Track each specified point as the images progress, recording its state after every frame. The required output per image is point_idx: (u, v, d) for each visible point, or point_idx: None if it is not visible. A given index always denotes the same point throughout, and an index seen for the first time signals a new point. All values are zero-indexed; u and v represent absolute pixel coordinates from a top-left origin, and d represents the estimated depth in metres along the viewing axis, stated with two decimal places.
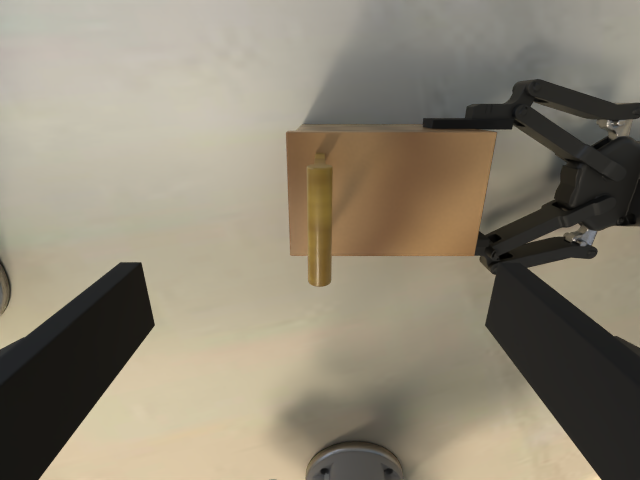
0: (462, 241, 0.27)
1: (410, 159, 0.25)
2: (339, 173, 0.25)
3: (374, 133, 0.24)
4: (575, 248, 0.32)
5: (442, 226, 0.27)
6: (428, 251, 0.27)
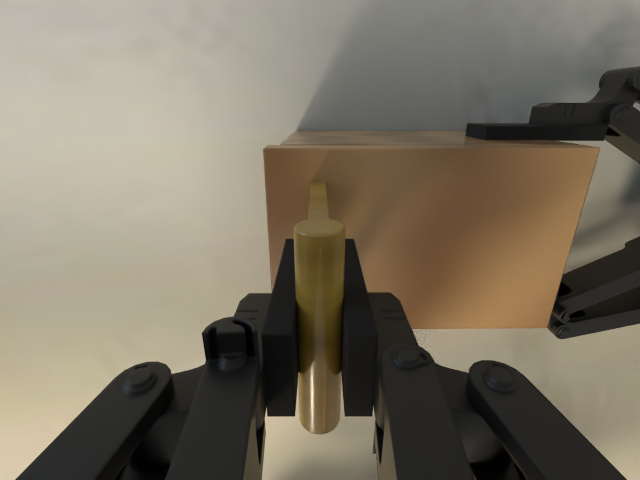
0: (531, 308, 0.18)
1: (460, 190, 0.16)
2: (349, 212, 0.16)
3: (405, 150, 0.15)
4: None
5: (502, 288, 0.18)
6: (479, 323, 0.18)
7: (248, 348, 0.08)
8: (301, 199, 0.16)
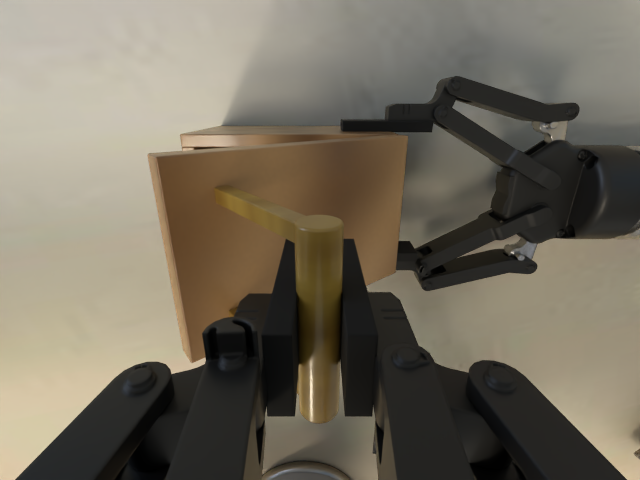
0: (386, 261, 0.24)
1: (336, 177, 0.19)
2: None
3: (295, 147, 0.16)
4: (512, 262, 0.29)
5: (369, 251, 0.22)
6: None
7: (248, 348, 0.08)
8: (206, 209, 0.14)
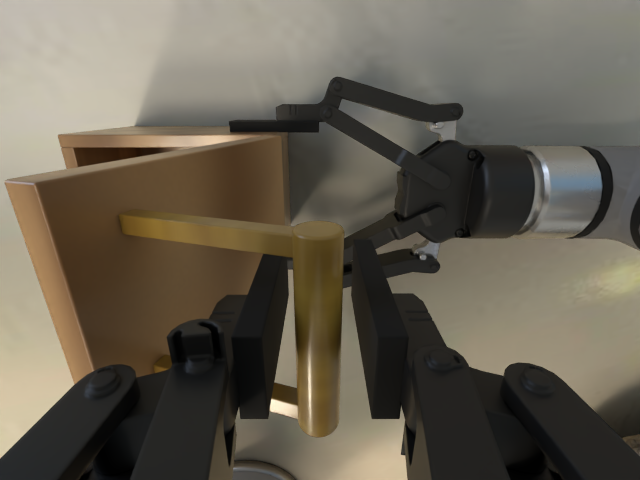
0: None
1: (234, 184, 0.17)
2: None
3: (195, 154, 0.14)
4: (415, 262, 0.29)
5: None
6: None
7: (215, 350, 0.08)
8: (112, 244, 0.11)
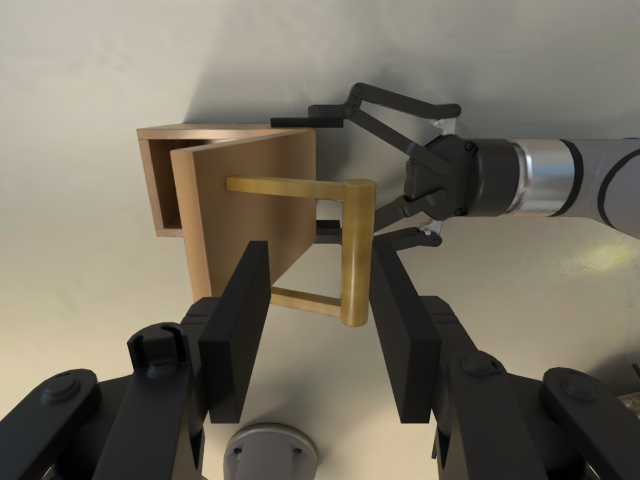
0: (311, 231, 0.29)
1: (285, 164, 0.23)
2: (246, 198, 0.19)
3: (264, 140, 0.20)
4: (421, 237, 0.34)
5: (303, 224, 0.27)
6: (300, 252, 0.27)
7: (180, 353, 0.08)
8: (221, 196, 0.17)
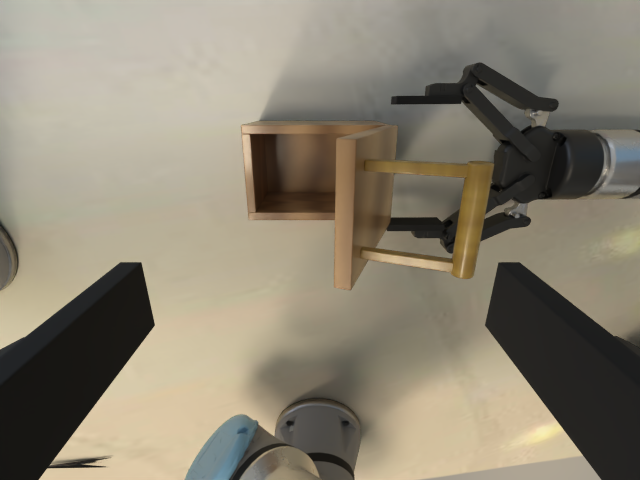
0: (389, 214, 0.34)
1: (384, 154, 0.27)
2: (369, 178, 0.23)
3: (379, 132, 0.24)
4: (511, 220, 0.39)
5: (386, 206, 0.32)
6: (383, 231, 0.32)
7: None
8: (362, 175, 0.21)
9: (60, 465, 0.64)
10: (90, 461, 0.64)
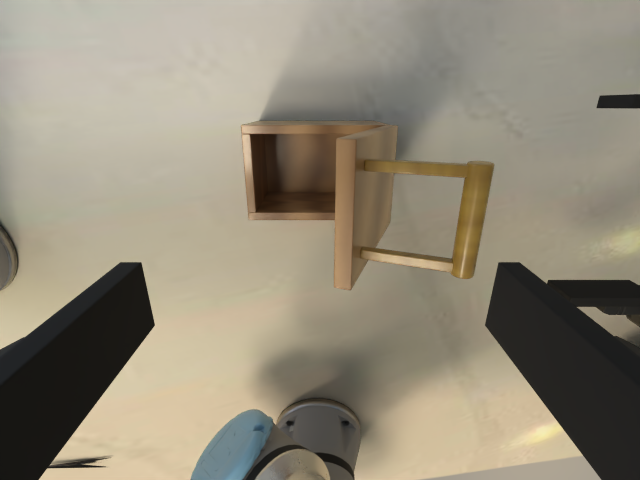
0: (389, 214, 0.34)
1: (384, 154, 0.27)
2: (369, 178, 0.23)
3: (379, 132, 0.24)
4: None
5: (386, 206, 0.32)
6: (383, 231, 0.32)
7: None
8: (361, 175, 0.21)
9: (60, 465, 0.64)
10: (90, 461, 0.64)
